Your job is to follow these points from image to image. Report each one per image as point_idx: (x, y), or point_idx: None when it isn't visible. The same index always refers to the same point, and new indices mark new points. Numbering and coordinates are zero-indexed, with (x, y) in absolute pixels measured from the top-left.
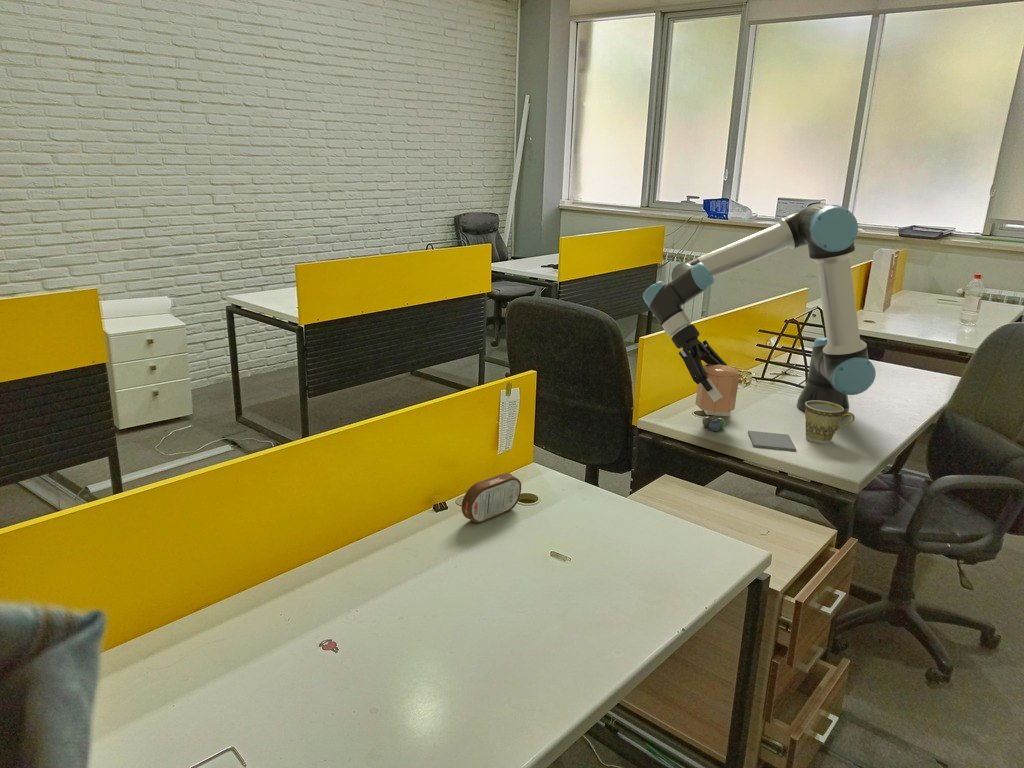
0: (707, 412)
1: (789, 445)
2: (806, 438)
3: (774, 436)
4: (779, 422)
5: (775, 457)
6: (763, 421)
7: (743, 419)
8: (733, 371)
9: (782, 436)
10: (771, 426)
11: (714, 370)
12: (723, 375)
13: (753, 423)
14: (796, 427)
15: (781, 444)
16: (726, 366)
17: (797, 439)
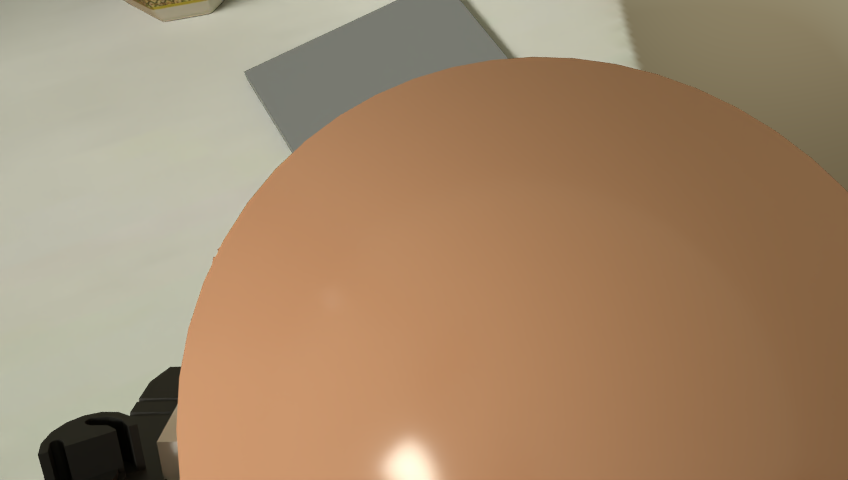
0: None
1: (419, 14)
2: (214, 7)
3: (339, 109)
4: (7, 199)
5: (613, 21)
6: (53, 277)
7: (100, 395)
8: (497, 121)
9: (304, 81)
10: (126, 204)
11: (756, 397)
12: (806, 172)
13: (143, 308)
14: (44, 101)
15: (437, 44)
16: (244, 361)
17: (256, 36)
